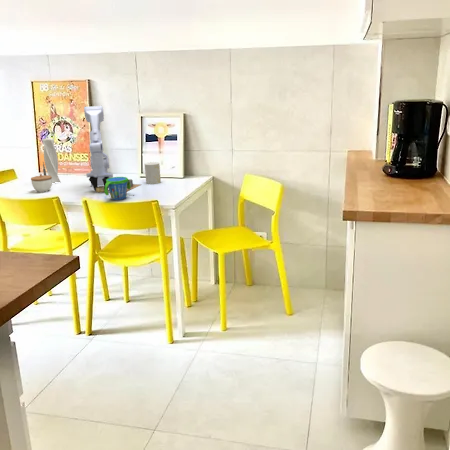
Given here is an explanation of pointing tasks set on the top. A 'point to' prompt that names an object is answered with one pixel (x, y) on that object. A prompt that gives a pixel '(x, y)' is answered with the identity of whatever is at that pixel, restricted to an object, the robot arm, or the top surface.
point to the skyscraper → (50, 159)
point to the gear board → (133, 187)
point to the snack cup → (117, 187)
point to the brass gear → (100, 189)
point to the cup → (152, 173)
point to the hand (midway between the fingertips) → (101, 190)
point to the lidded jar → (42, 182)
